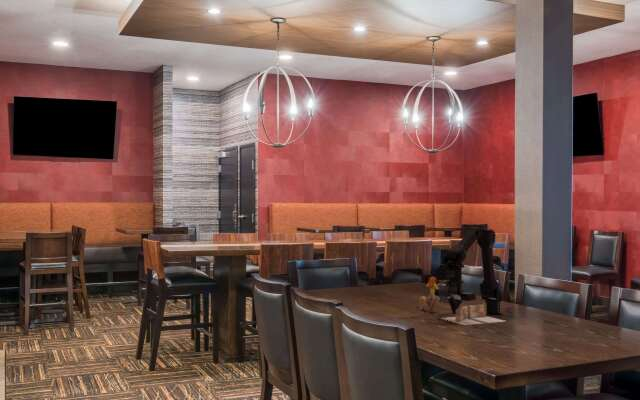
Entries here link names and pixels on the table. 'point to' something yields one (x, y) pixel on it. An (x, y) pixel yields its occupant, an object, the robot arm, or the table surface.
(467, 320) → the board
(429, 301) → the lion figurine
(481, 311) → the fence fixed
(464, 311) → the brown tall flat block
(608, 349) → the table surface
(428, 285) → the doll family
